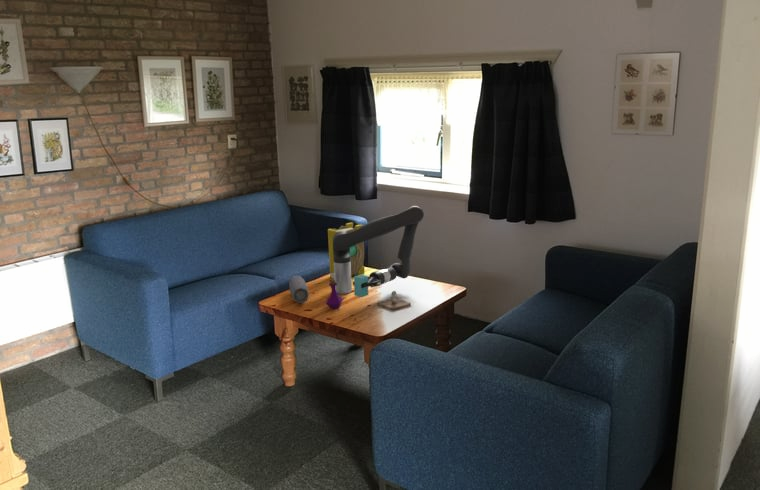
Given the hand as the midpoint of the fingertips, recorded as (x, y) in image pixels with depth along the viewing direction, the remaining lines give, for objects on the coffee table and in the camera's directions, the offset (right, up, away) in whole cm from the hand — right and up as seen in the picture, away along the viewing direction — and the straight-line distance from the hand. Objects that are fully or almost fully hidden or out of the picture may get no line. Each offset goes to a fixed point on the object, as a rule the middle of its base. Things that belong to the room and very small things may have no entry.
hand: (357, 285), depth 332 cm
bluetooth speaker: (-32, -9, +19) cm, 38 cm away
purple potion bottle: (-12, -12, +4) cm, 17 cm away
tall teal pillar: (+2, -5, +3) cm, 7 cm away
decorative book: (-8, +2, +58) cm, 59 cm away
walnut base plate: (+19, -11, +3) cm, 22 cm away
